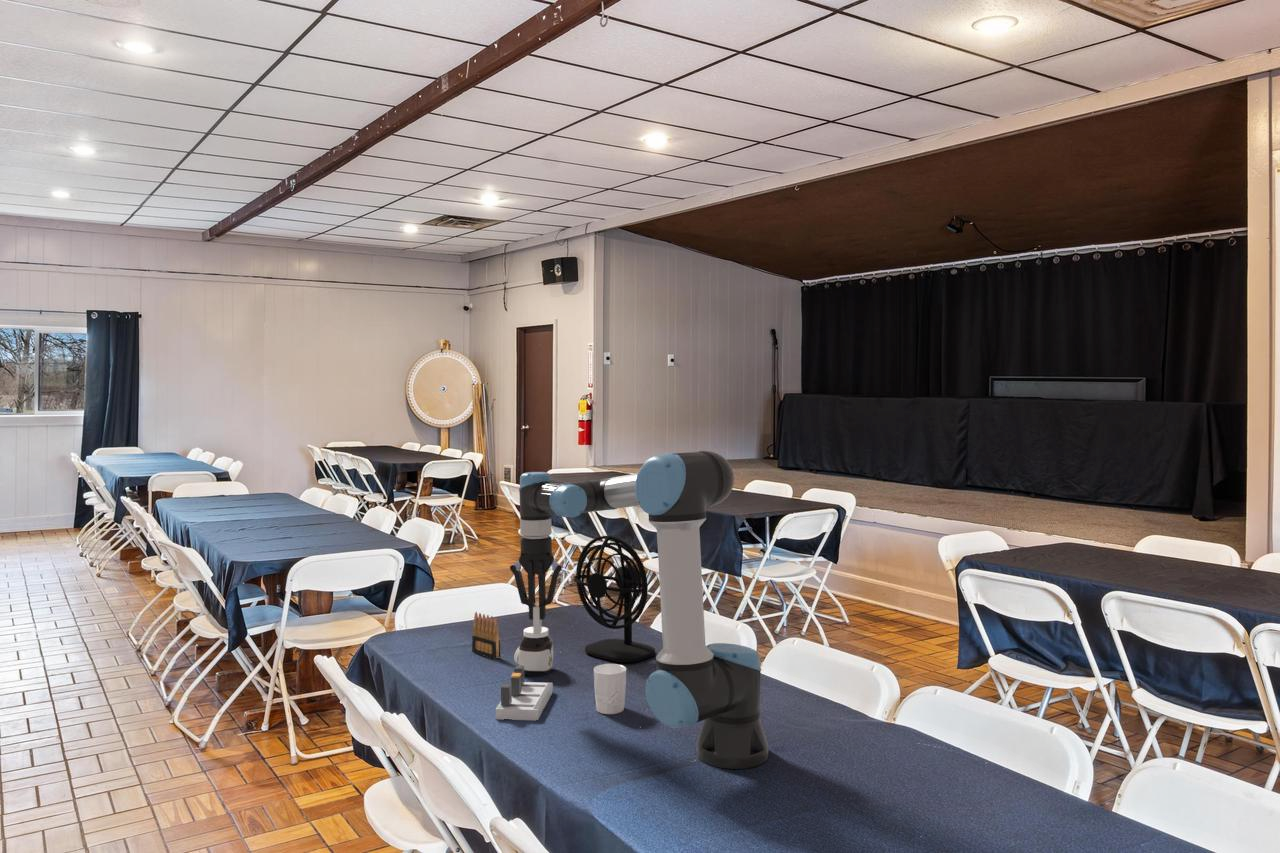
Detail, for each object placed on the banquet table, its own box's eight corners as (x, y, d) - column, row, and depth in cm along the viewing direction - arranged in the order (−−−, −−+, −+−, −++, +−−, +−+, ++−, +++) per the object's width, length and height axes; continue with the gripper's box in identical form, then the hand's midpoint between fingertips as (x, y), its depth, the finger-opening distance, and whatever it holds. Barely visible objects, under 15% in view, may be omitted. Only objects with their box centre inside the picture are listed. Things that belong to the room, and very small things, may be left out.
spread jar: (540, 679, 240) (540, 635, 239) (503, 674, 244) (502, 631, 243) (560, 665, 251) (559, 624, 251) (523, 661, 255) (523, 620, 255)
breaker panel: (537, 720, 210) (537, 709, 210) (495, 719, 211) (495, 708, 211) (552, 692, 229) (552, 682, 229) (514, 691, 230) (513, 681, 230)
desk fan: (562, 652, 264) (561, 533, 262) (603, 639, 277) (602, 526, 275) (632, 671, 246) (632, 544, 245) (672, 656, 260) (672, 535, 258)
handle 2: (522, 685, 226) (522, 668, 226) (514, 685, 226) (514, 668, 226) (524, 682, 229) (524, 665, 228) (516, 682, 229) (516, 665, 228)
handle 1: (509, 705, 212) (509, 687, 212) (501, 705, 212) (500, 687, 212) (511, 702, 215) (511, 684, 214) (503, 702, 215) (503, 683, 215)
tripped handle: (519, 695, 219) (519, 676, 219) (511, 695, 219) (511, 676, 219) (521, 692, 222) (521, 673, 221) (513, 692, 222) (513, 672, 221)
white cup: (622, 716, 213) (622, 675, 212) (590, 714, 214) (589, 672, 214) (629, 704, 221) (629, 664, 220) (598, 702, 222) (598, 662, 222)
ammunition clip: (500, 658, 258) (500, 616, 258) (495, 659, 257) (495, 618, 256) (476, 651, 265) (476, 610, 265) (471, 652, 264) (471, 611, 263)
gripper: (565, 533, 221) (566, 628, 222) (513, 533, 222) (514, 628, 223) (559, 538, 214) (561, 637, 215) (505, 538, 215) (507, 636, 216)
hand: (537, 632), depth 219 cm, fingers closed
